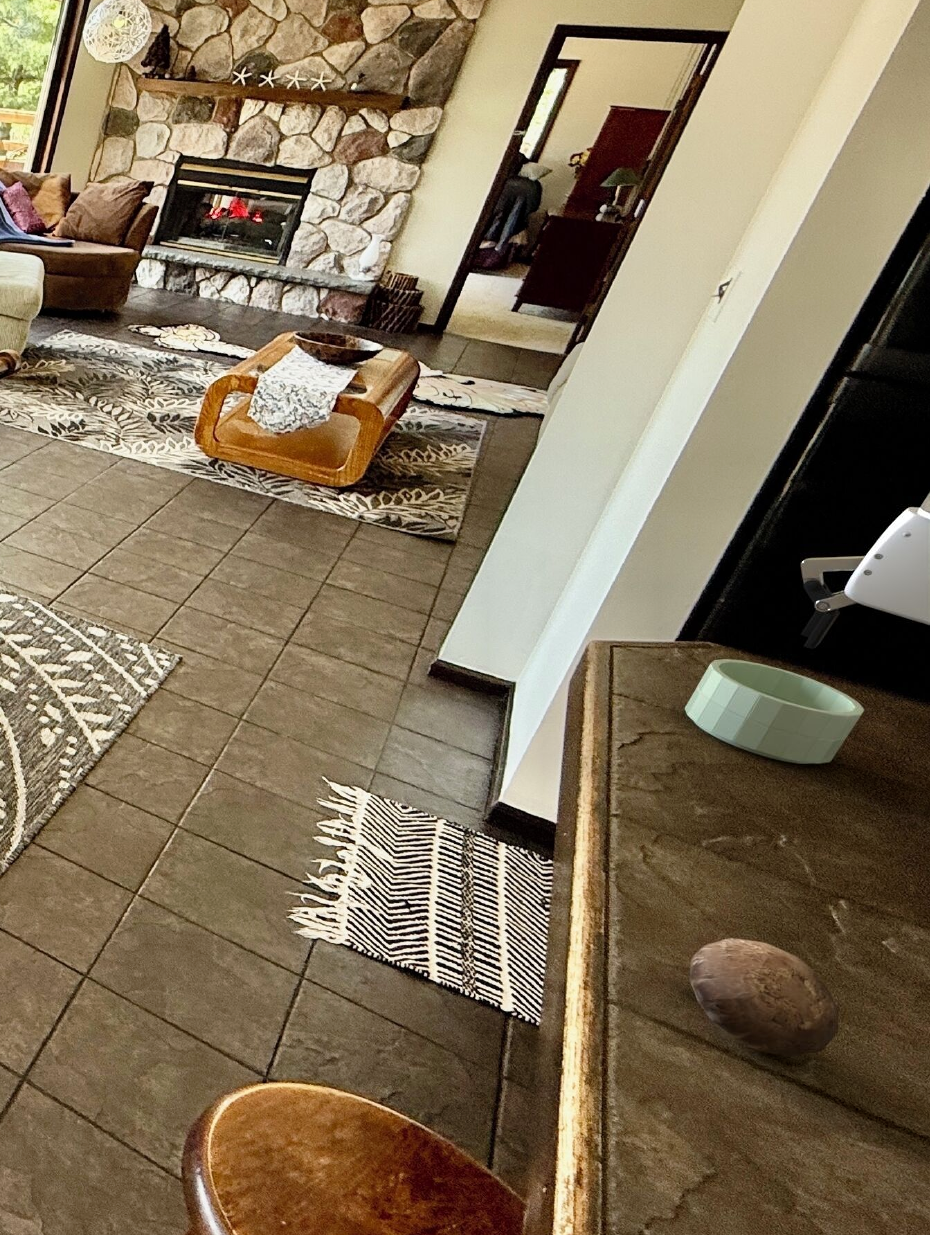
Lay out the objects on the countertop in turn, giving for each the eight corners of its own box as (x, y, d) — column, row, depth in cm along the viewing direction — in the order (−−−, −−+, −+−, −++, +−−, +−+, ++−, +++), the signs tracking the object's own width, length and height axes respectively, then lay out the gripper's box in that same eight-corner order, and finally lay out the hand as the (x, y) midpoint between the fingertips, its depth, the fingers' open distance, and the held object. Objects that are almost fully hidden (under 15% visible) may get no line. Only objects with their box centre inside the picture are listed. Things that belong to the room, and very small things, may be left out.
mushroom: (669, 920, 78) (752, 905, 73) (783, 999, 76) (878, 990, 70) (636, 1003, 76) (719, 994, 70) (754, 1088, 73) (850, 1085, 68)
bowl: (754, 713, 118) (784, 663, 115) (862, 772, 107) (898, 720, 105) (654, 704, 118) (682, 655, 115) (752, 763, 107) (785, 710, 105)
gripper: (1139, 541, 93) (1016, 701, 100) (861, 476, 106) (769, 622, 113) (1133, 555, 89) (1006, 720, 96) (845, 485, 102) (751, 636, 109)
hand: (878, 667), depth 104 cm, fingers open, 9 cm apart
